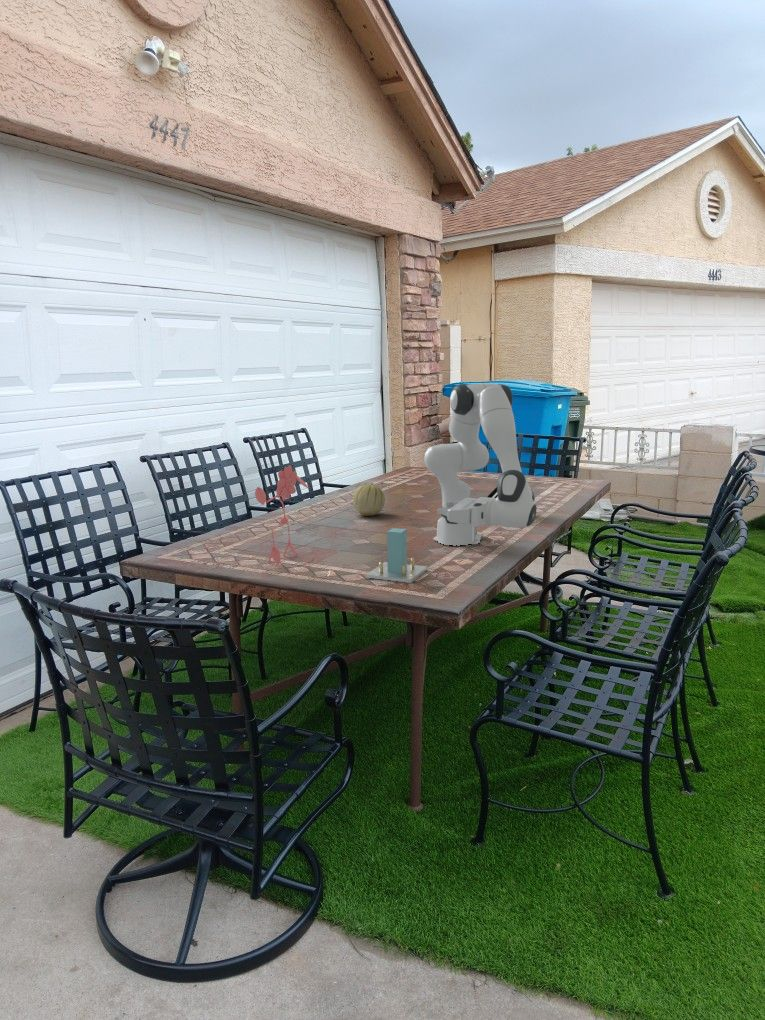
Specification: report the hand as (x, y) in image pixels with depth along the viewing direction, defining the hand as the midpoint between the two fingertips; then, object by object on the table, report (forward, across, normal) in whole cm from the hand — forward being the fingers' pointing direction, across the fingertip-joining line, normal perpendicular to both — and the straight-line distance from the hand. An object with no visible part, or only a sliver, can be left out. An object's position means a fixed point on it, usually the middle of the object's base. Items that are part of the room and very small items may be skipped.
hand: (442, 507), depth 238 cm
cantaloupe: (+62, -77, +26) cm, 103 cm away
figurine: (+58, +1, +25) cm, 63 cm away
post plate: (+16, +1, +24) cm, 29 cm away
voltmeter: (+3, -92, +26) cm, 95 cm away
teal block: (+16, +1, +23) cm, 28 cm away
